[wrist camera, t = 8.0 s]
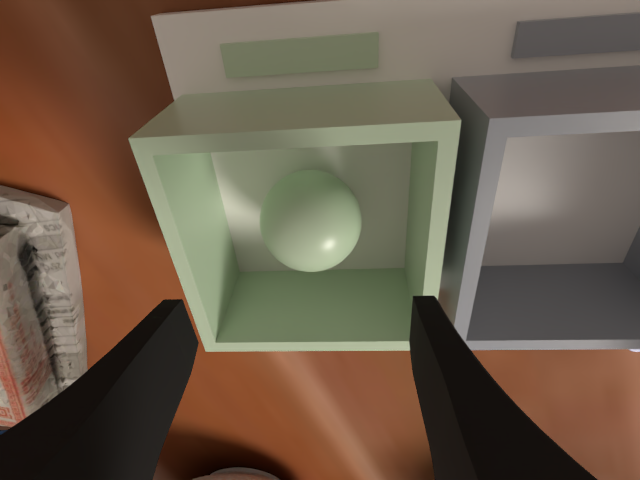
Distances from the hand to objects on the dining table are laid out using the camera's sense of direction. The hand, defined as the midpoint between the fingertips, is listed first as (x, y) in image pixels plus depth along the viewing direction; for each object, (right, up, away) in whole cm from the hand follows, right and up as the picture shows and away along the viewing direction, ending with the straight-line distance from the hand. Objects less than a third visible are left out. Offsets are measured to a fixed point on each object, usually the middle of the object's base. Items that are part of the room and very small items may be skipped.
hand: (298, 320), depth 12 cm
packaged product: (-20, -1, +14) cm, 24 cm away
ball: (0, +3, +5) cm, 6 cm away
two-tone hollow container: (+6, +6, +6) cm, 11 cm away
